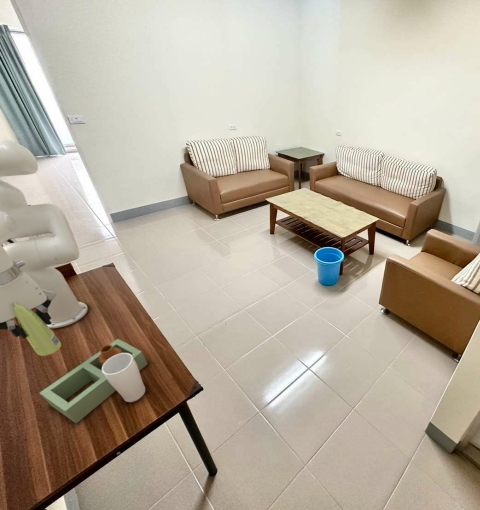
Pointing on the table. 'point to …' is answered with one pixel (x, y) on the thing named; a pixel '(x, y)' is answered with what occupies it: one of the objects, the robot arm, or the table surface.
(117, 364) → the white cup
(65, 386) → the caddy
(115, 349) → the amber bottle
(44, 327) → the tube
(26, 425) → the table surface
